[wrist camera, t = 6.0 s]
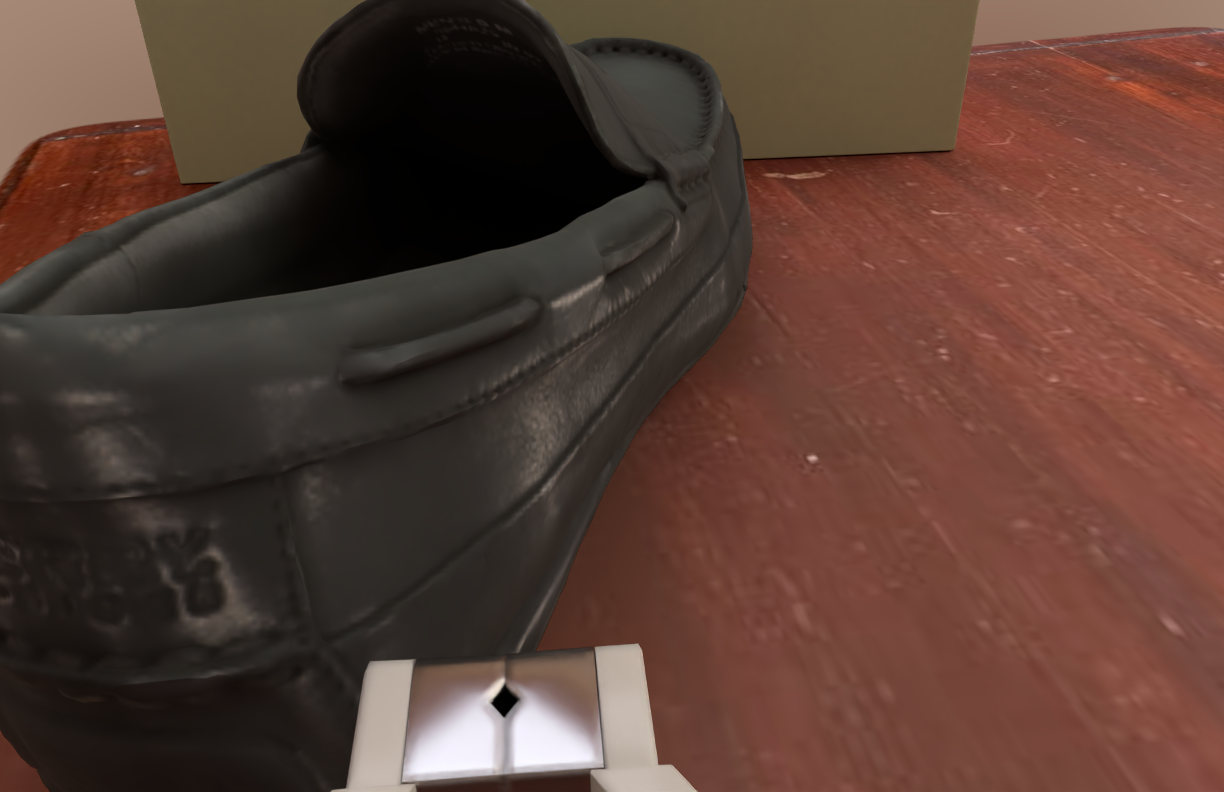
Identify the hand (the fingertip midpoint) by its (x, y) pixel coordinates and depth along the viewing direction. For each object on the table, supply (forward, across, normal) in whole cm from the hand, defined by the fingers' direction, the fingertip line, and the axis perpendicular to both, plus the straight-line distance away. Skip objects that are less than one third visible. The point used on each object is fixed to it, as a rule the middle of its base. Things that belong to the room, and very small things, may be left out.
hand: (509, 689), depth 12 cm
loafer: (+14, 0, +6) cm, 15 cm away
